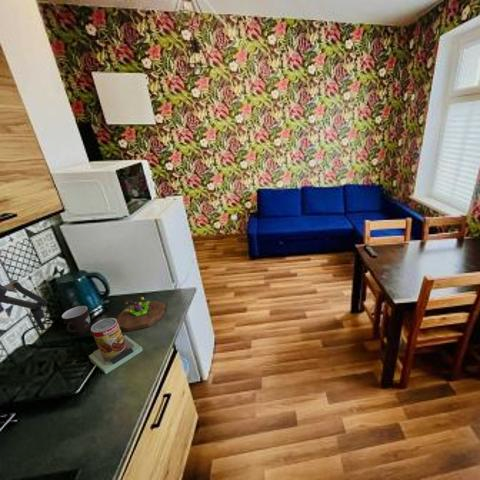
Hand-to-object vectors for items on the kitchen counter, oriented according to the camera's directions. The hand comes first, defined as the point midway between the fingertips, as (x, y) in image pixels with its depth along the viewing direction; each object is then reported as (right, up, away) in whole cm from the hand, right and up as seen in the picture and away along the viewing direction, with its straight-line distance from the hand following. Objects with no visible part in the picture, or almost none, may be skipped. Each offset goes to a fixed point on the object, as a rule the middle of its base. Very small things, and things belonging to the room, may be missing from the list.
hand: (9, 342), depth 74 cm
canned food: (+6, -14, +30) cm, 34 cm away
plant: (+1, -9, +54) cm, 54 cm away
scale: (+6, -18, +31) cm, 37 cm away
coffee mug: (-20, -13, +44) cm, 50 cm away
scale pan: (+6, -15, +31) cm, 34 cm away
